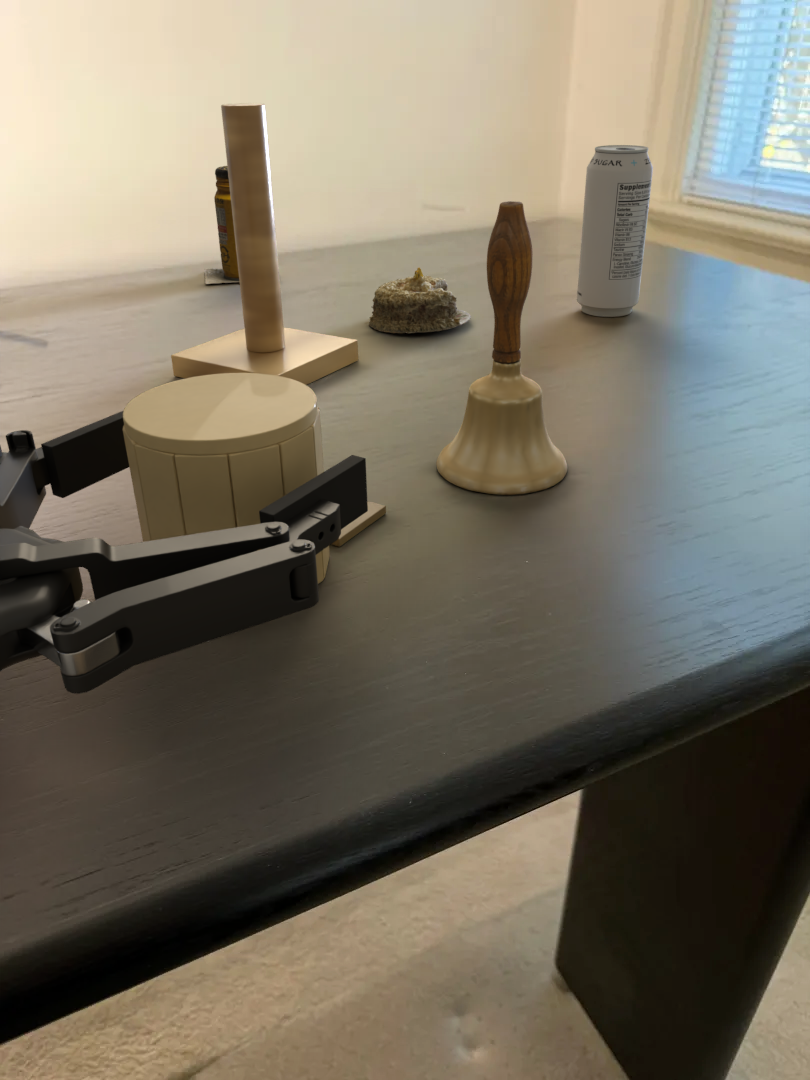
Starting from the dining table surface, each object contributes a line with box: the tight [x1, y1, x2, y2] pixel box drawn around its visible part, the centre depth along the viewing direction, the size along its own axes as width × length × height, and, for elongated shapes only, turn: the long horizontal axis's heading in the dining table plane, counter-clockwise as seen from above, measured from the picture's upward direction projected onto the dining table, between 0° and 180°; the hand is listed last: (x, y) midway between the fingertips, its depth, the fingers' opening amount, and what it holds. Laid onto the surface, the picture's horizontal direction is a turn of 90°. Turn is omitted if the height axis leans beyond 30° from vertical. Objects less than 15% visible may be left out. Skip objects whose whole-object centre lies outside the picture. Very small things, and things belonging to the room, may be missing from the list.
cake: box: [368, 267, 472, 334], centre depth 85 cm, size 10×10×5 cm
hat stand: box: [170, 102, 359, 386], centre depth 70 cm, size 11×11×20 cm
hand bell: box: [436, 200, 568, 496], centre depth 53 cm, size 8×8×16 cm
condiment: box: [204, 165, 240, 285], centre depth 102 cm, size 7×8×12 cm
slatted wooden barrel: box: [122, 373, 387, 585], centre depth 46 cm, size 9×13×9 cm
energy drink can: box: [576, 144, 654, 318], centre depth 85 cm, size 6×6×15 cm
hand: (249, 452), depth 44 cm, fingers open, 13 cm apart
